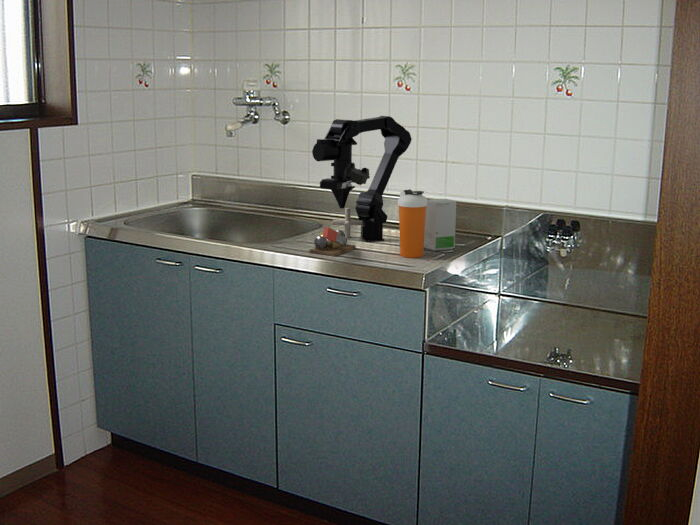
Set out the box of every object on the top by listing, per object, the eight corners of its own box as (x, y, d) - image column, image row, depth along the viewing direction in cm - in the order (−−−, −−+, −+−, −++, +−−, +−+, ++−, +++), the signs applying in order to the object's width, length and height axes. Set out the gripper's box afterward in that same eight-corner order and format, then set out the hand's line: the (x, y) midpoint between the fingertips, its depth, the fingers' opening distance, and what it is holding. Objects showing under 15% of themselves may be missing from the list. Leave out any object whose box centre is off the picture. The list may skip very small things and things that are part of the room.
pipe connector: (362, 240, 281) (362, 210, 278) (332, 240, 281) (332, 210, 278) (362, 234, 290) (362, 205, 288) (333, 234, 290) (333, 205, 288)
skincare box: (433, 251, 264) (435, 202, 261) (422, 247, 270) (423, 199, 266) (456, 248, 268) (457, 200, 264) (444, 245, 274) (445, 197, 270)
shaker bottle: (417, 259, 252) (419, 193, 248) (391, 256, 257) (392, 191, 252) (431, 254, 260) (432, 190, 255) (405, 251, 264) (406, 187, 260)
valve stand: (331, 245, 272) (331, 227, 271) (355, 248, 268) (355, 230, 267) (309, 253, 261) (309, 234, 260) (334, 256, 257) (334, 237, 256)
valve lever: (344, 237, 264) (324, 227, 252) (348, 237, 263) (328, 227, 252) (342, 246, 263) (322, 236, 252) (346, 247, 262) (326, 237, 251)
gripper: (350, 163, 255) (349, 214, 258) (378, 158, 271) (377, 206, 274) (319, 161, 260) (318, 211, 264) (348, 156, 276) (348, 203, 280)
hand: (342, 208), depth 270 cm, fingers closed
